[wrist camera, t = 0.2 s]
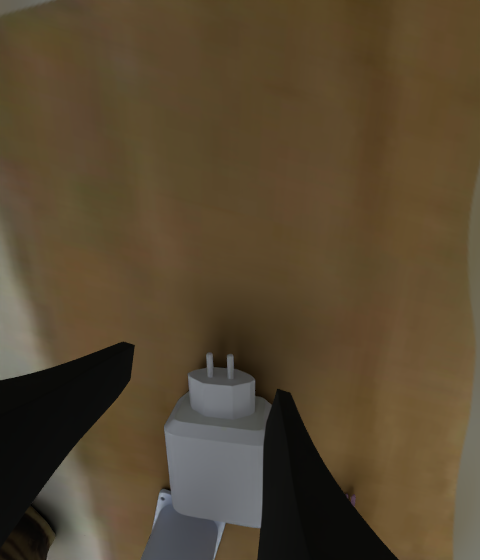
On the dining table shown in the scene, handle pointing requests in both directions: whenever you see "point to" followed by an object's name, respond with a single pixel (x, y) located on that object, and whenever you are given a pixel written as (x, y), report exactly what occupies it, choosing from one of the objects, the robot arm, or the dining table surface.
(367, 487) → the dining table surface
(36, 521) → the ceramic jug
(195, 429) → the charger
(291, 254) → the dining table surface
